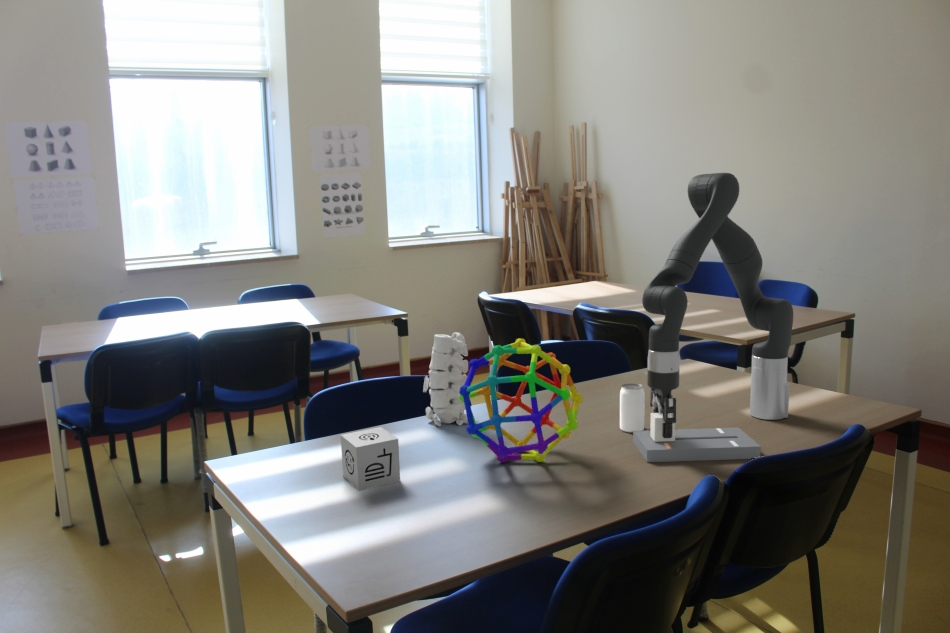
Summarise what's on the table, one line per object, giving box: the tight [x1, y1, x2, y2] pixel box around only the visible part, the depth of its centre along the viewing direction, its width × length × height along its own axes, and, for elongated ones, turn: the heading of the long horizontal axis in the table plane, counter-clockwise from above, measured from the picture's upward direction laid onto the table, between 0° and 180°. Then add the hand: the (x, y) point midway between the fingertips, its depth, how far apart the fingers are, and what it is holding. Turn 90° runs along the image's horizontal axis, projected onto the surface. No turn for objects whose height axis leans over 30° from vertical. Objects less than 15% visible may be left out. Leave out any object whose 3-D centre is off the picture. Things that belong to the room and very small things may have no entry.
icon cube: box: [340, 426, 401, 491], centre depth 167 cm, size 10×10×10 cm
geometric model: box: [459, 338, 584, 464], centre depth 174 cm, size 30×30×30 cm
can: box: [619, 382, 646, 434], centre depth 195 cm, size 6×6×12 cm
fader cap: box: [649, 412, 676, 442], centre depth 178 cm, size 5×4×6 cm
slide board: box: [632, 427, 762, 463], centre depth 179 cm, size 27×14×3 cm, turn 91°
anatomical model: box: [422, 331, 469, 427], centre depth 205 cm, size 11×12×25 cm
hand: (662, 432), depth 178 cm, fingers open, 8 cm apart
